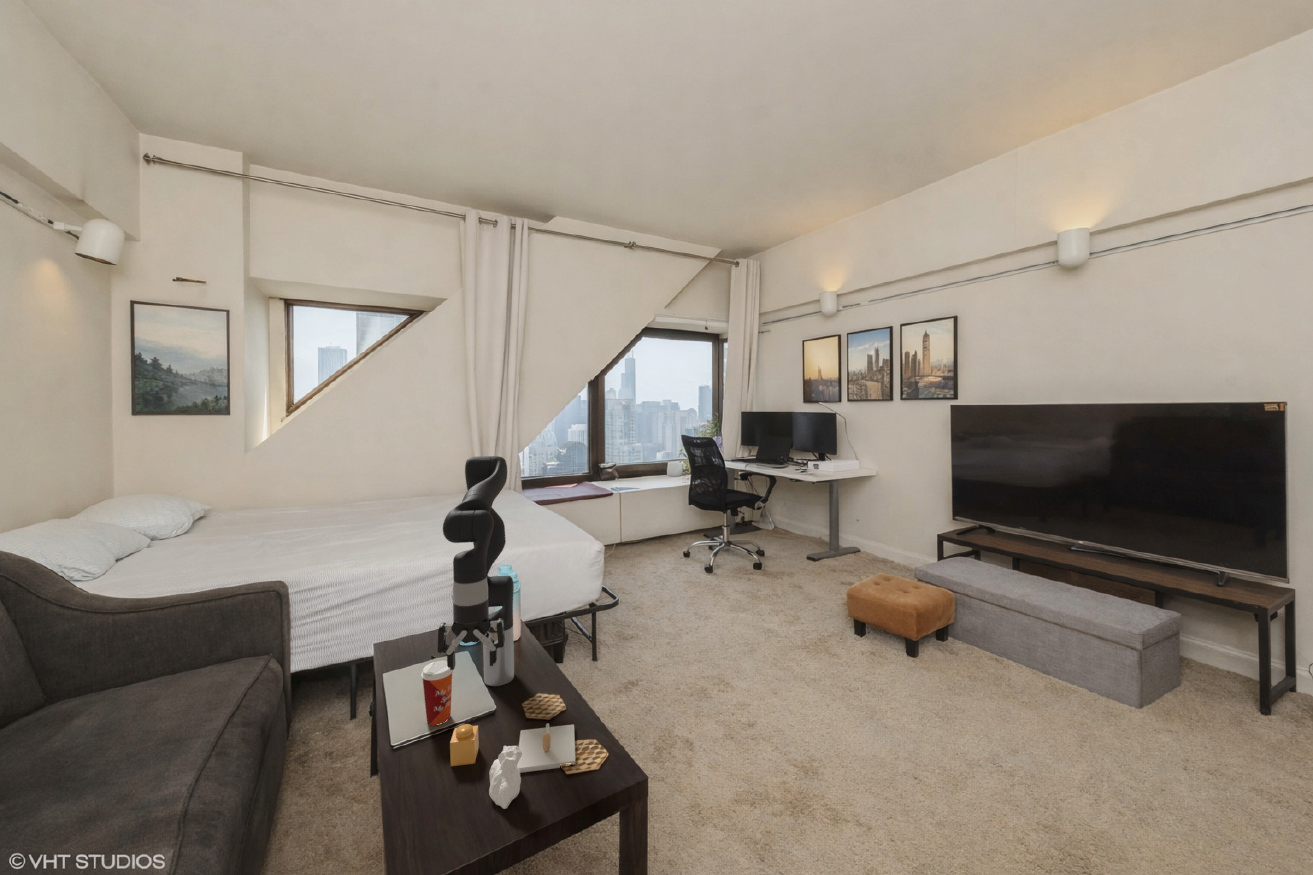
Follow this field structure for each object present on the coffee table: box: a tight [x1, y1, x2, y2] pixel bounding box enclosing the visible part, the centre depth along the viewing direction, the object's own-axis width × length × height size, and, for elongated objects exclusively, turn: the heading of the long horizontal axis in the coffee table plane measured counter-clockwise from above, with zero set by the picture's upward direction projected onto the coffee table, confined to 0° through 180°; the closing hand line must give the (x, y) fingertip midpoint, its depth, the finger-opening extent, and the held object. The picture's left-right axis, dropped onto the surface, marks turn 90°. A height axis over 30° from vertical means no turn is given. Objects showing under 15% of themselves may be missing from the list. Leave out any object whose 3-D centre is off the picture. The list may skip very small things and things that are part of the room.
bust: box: [488, 745, 522, 810], centre depth 113 cm, size 12×8×11 cm
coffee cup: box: [420, 660, 454, 726], centre depth 139 cm, size 8×8×15 cm
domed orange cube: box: [449, 723, 480, 767], centre depth 124 cm, size 6×6×7 cm
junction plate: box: [517, 723, 576, 774], centre depth 127 cm, size 15×14×6 cm
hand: (472, 666), depth 114 cm, fingers open, 8 cm apart
